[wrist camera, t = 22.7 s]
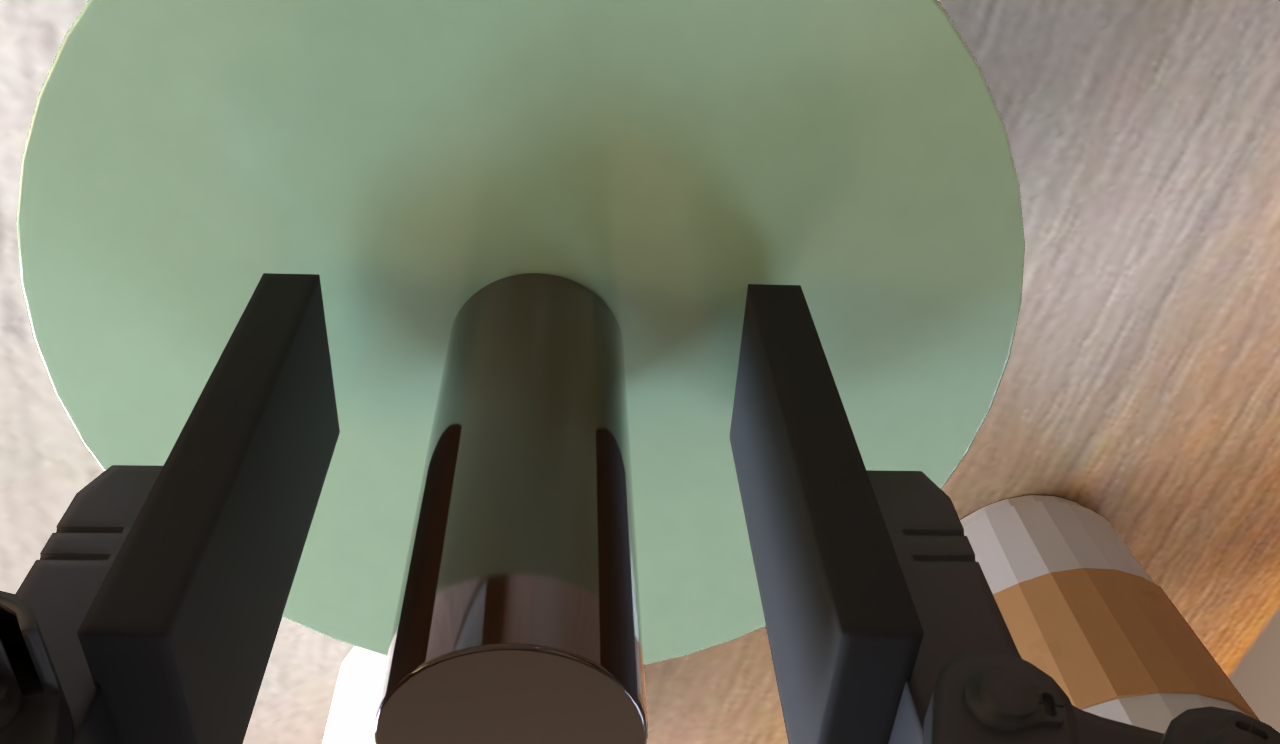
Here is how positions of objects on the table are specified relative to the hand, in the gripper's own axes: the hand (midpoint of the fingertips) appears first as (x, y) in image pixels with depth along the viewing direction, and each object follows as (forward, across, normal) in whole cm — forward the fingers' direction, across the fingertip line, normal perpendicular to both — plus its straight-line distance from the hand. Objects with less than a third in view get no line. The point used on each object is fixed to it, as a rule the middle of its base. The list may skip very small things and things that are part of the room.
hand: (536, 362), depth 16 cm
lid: (+1, 0, 0) cm, 1 cm away
